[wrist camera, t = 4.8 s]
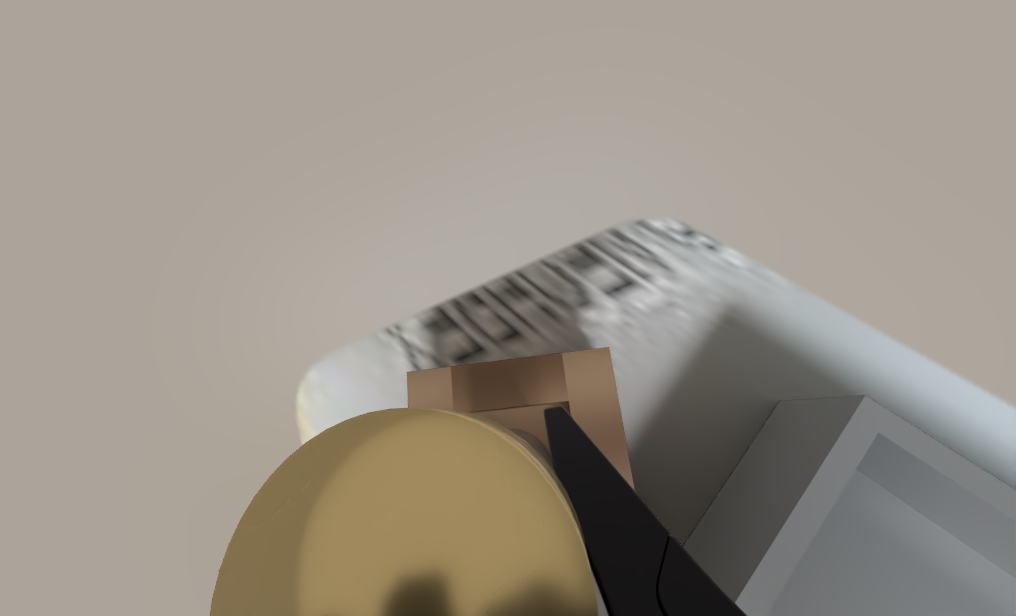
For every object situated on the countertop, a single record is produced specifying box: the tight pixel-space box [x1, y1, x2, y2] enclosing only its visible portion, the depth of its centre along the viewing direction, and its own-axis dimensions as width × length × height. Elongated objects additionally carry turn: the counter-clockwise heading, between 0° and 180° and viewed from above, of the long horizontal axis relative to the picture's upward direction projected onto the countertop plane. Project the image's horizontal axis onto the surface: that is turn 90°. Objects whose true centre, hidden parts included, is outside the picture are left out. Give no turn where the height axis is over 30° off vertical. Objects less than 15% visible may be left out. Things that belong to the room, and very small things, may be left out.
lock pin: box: [210, 408, 599, 616], centre depth 8 cm, size 4×4×10 cm
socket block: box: [407, 347, 635, 490], centre depth 16 cm, size 8×8×4 cm
